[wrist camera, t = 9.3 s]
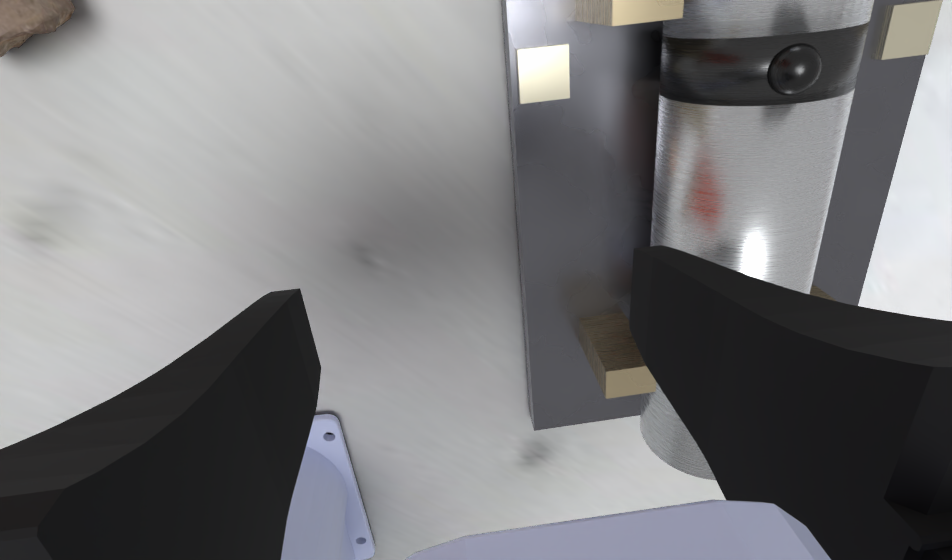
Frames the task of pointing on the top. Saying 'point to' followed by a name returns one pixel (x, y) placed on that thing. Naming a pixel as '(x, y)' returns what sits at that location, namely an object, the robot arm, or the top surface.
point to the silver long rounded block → (749, 149)
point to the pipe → (30, 19)
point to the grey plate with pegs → (652, 182)
